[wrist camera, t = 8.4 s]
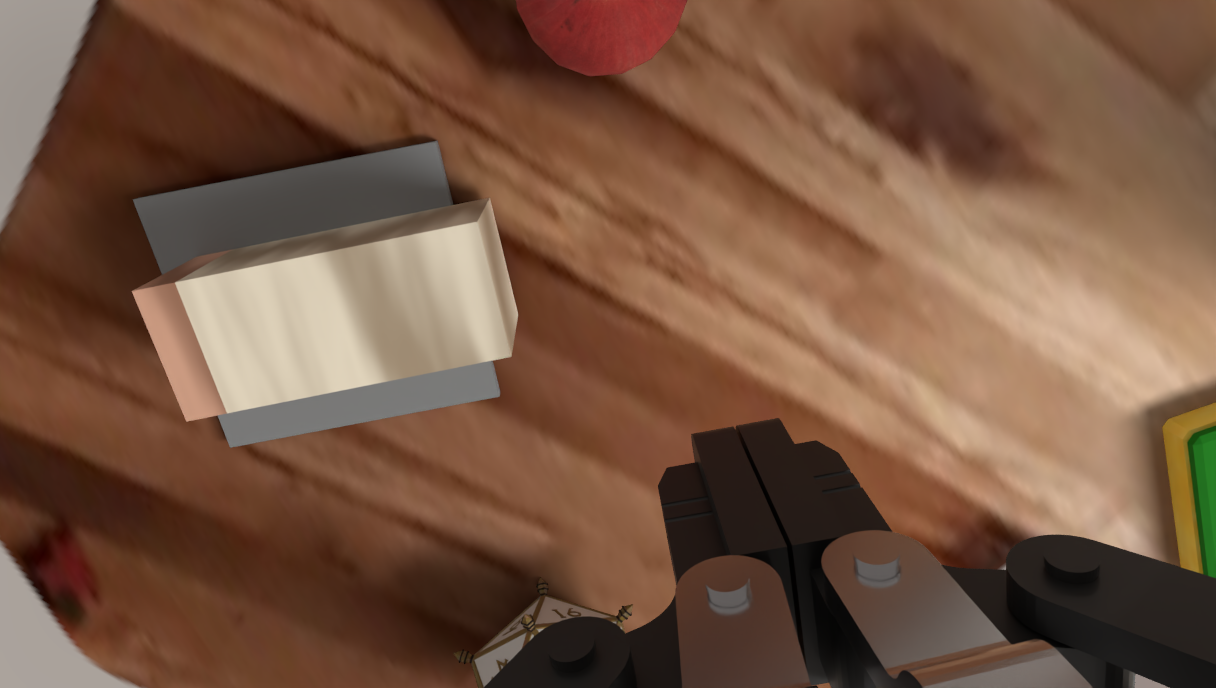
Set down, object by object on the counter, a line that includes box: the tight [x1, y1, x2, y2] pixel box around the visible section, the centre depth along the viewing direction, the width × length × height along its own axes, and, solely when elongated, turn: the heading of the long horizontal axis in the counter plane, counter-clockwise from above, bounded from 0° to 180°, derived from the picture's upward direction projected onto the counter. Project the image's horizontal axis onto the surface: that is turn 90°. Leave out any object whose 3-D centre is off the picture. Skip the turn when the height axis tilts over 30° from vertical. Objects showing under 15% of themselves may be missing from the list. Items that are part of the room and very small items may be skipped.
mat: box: [133, 141, 500, 448], centre depth 32 cm, size 12×11×1 cm
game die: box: [453, 577, 633, 688], centre depth 35 cm, size 9×8×10 cm
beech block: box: [132, 198, 518, 421], centre depth 30 cm, size 5×5×12 cm
